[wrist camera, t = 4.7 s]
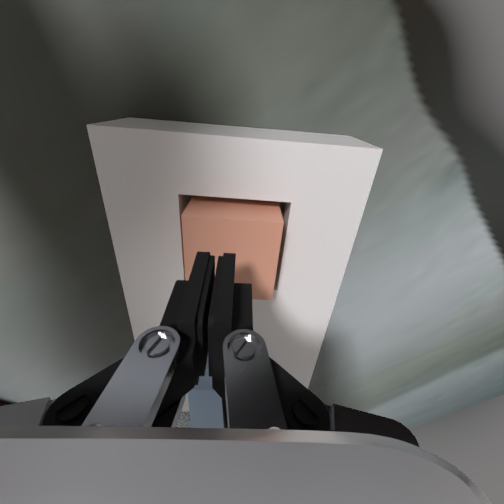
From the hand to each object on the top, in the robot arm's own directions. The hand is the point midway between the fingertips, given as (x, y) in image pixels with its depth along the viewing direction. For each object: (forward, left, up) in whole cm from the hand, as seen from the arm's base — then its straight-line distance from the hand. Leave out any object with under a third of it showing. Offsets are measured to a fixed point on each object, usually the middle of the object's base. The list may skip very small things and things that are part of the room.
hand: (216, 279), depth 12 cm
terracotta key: (+1, 0, -5) cm, 5 cm away
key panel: (+7, 0, -9) cm, 11 cm away
